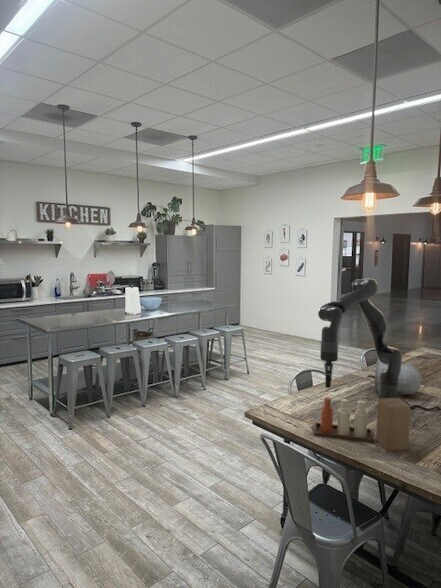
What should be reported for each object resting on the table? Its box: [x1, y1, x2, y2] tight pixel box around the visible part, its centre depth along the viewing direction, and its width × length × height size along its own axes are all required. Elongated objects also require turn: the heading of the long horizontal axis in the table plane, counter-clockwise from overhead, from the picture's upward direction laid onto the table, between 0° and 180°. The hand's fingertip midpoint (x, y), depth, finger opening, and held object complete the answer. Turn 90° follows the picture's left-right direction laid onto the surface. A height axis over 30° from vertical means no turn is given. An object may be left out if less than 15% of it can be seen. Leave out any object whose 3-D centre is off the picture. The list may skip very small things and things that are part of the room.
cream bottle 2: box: [353, 400, 369, 438], centre depth 179 cm, size 5×5×16 cm
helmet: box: [365, 360, 422, 396], centre depth 234 cm, size 19×18×30 cm
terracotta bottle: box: [320, 396, 334, 434], centre depth 183 cm, size 5×5×16 cm
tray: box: [313, 422, 375, 444], centre depth 182 cm, size 26×11×2 cm, turn 75°
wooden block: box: [375, 398, 412, 452], centre depth 171 cm, size 10×10×20 cm
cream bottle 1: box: [336, 398, 351, 436], centre depth 181 cm, size 5×5×16 cm
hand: (328, 384), depth 181 cm, fingers open, 8 cm apart
